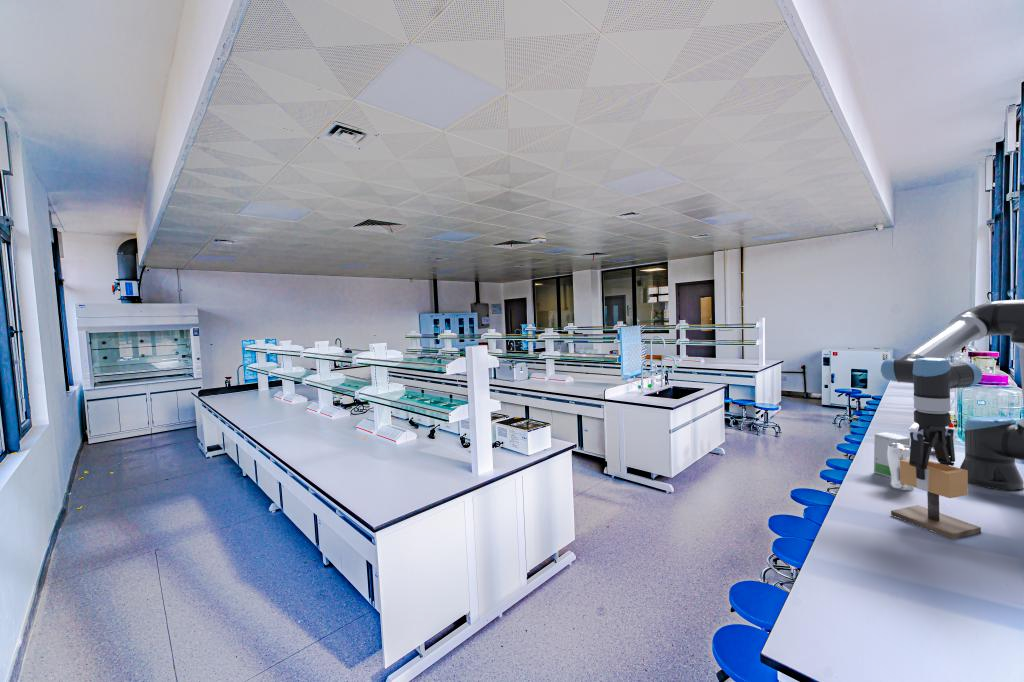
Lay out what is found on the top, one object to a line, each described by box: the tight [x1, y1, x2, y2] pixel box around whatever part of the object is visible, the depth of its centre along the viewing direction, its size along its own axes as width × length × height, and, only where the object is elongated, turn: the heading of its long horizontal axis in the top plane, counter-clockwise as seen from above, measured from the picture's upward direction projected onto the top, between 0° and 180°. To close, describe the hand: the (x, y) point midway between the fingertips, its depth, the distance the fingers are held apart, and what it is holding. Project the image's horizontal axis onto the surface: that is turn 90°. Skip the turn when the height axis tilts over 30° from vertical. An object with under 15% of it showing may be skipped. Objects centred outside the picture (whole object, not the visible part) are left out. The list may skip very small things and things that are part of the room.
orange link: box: [900, 459, 969, 499], centre depth 121 cm, size 12×7×7 cm, turn 13°
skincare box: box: [873, 431, 910, 479], centre depth 157 cm, size 8×7×16 cm
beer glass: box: [887, 443, 914, 492], centre depth 146 cm, size 7×7×15 cm
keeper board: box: [890, 491, 982, 540], centre depth 121 cm, size 11×15×12 cm
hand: (932, 487), depth 121 cm, fingers closed on orange link, 7 cm apart
